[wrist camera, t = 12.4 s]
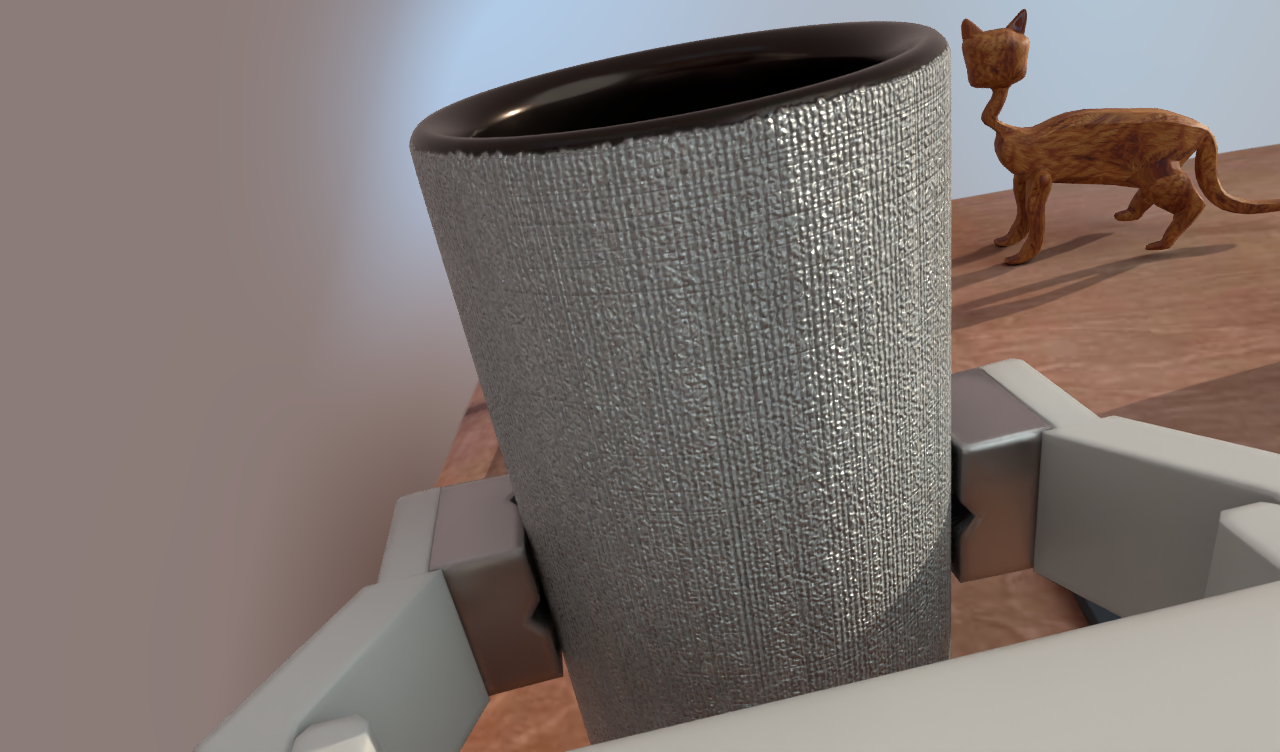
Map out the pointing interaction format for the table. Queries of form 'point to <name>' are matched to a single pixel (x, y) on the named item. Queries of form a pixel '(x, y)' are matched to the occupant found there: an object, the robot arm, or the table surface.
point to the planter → (717, 356)
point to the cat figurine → (1093, 149)
